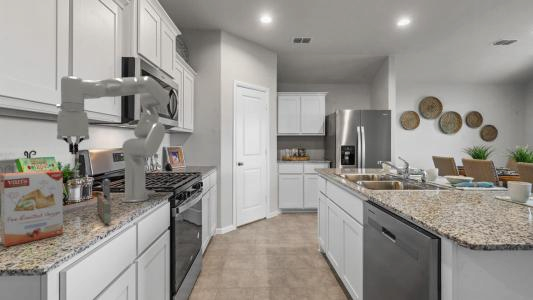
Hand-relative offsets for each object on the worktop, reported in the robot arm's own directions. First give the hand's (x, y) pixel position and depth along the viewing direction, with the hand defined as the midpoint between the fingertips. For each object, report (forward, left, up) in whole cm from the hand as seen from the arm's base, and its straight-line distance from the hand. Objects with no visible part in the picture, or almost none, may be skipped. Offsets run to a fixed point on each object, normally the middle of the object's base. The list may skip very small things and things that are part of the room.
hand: (73, 154), depth 109 cm
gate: (-7, +14, -24) cm, 28 cm away
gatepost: (-10, +4, -25) cm, 27 cm away
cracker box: (+14, +22, -25) cm, 36 cm away
